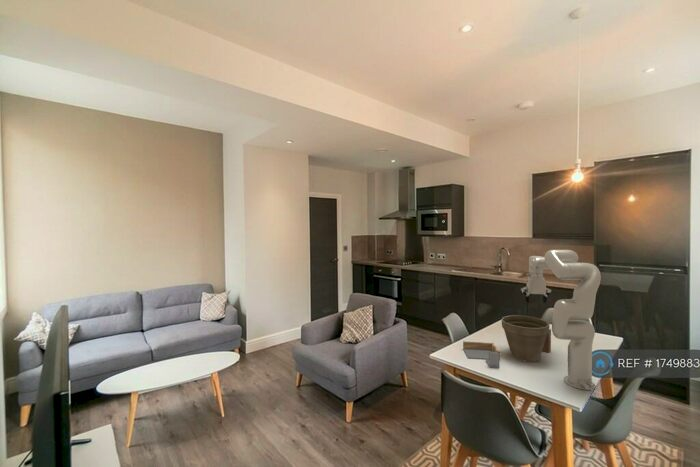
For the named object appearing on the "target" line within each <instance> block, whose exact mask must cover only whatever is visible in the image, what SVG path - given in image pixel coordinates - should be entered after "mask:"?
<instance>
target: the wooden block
mask: <svg viewBox="0 0 700 467" xmlns="http://www.w3.org/2000/svg"><path fill="white" fill-rule="evenodd" d="M542 352H543V353H544V352H545V353H551V352H552V328H551V329H550V328H549V334H547V336H546V340H545V343H544V346H543V350H542Z"/></svg>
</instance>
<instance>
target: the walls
mask: <svg viewBox="0 0 700 467" xmlns="http://www.w3.org/2000/svg"><path fill="white" fill-rule="evenodd" d="M462 348H463V349H462V350H463V351H464V349H473V350H491V351H492V352H498V353H499V359H500V360H501V351H500V350H499V348H498V347H497V346H496V345H495V344H494V342H483V341H482V342H481V341H465V340H463V341H462Z"/></svg>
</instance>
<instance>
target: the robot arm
mask: <svg viewBox="0 0 700 467" xmlns="http://www.w3.org/2000/svg"><path fill="white" fill-rule="evenodd" d="M578 261H579V256H578V253H577V252H576V251H574V250H571V249H550V250H548V251H546V253H545V254H544V256H540V255H530V256H529V257H528V273H526V276H527V281H526V286H524V287H522V288H520V291H521V292H522V294H523V295H524V296H525V297H524V299H525V302H526V303H530V294H531V295H542V303H544V304H547V301H548V300H547V298H548V296H549V295H550V294H551V292H552V289H551V288H548V287H547V284H546V280H545V279H546V278H545V277H544V270H550V271H551V272H552V273H553V274H554V276H555V277H556V278H557V279H559V280H562V281H580V282H579V283H578V284H577V285H576V286H575V287H574V289H573V292H572V293H573V294H572V295H573V296H572V298H563V299H558V300H557V301H555V303H554V306H553V313H552V319H551V320H552V321H551V333H552V335H553V336H554V338H556V339H557V340H558V339H559V340H566V341H569V343H568V345H567V375H565V376H564V377H563V381H564V382H565V384H567V385H569V386H571V387H573V388H575V389H578V390H581V391H582V390H585V391H594V390H596V387H597V385H596V383H595V382H594V381H593V373H592V372H593V371H592V370H593V358H592V357H593V344H594V338H595V335H596V334H595V333H596V330H595V327H594V325H593V324H592V323H591V322H590V321H588V320H589V319H592V317H593V315H594V310H595V304H596V296H597V292H598V290H599V287H600V284H601V281H602V276H601V272H600V270H599V267H598V266H596V264H593V263H589V262H578Z"/></svg>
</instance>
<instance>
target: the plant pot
mask: <svg viewBox="0 0 700 467" xmlns="http://www.w3.org/2000/svg"><path fill="white" fill-rule="evenodd" d="M550 327H551V326H550V323H549V322H548V321H547V320H544V319H542V318H538V317H534V316H530V315H529V316H528V315H515V314H514V315H506V316H503V317H502V318H501V328H502V329H503V330H504V334H505V338H506V341H507V342H506V343H507V345H508V348H509V352H510V353H511V357H513V358H515V359H517V360H519V361H522V362H523V361H524V362H532V363H533V362H537V361H539V360H540V359H541V355H542V353H543V351H542V350H543V346H544V343H545V340H546V336H547V334H549V330H550Z"/></svg>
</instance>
